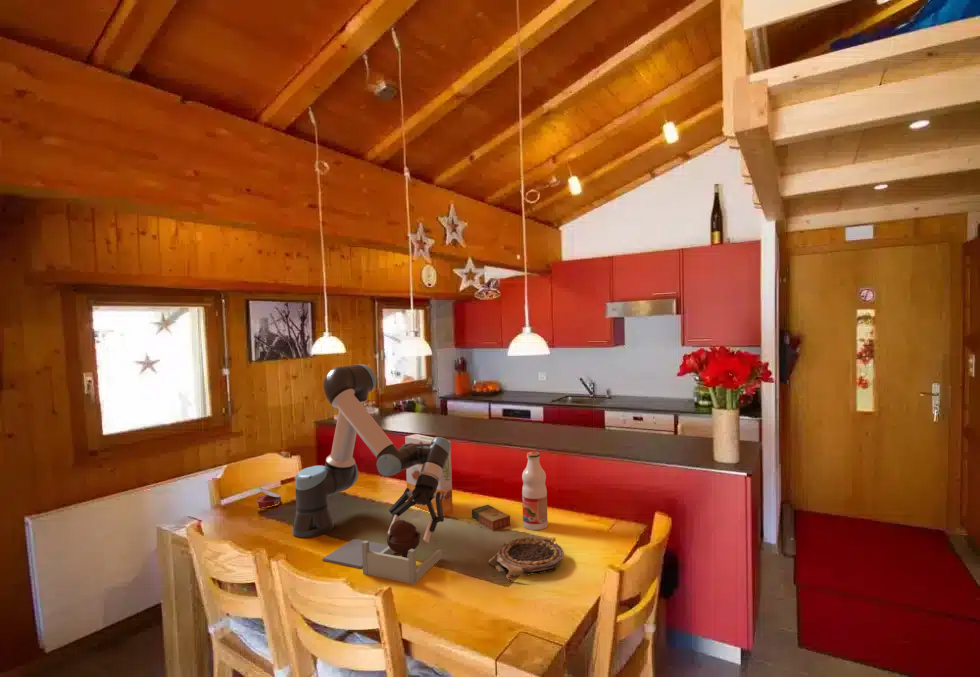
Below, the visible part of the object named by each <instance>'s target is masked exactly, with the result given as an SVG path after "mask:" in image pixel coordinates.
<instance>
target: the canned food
mask: <svg viewBox="0 0 980 677" xmlns="http://www.w3.org/2000/svg"><path fill="white" fill-rule="evenodd" d="M258 488H259V490H260V491H261V492H262V493H263V494H265V495H262V496H260V497H258V498H257V499H256V507H257V506H259V507H267V506H272V505H275V504H278V503H279V502H281V503H282V498H281V495H280V494H279V493H275V492H273V491H270V490H268V489H264V488H263V487H261V486H258Z"/></svg>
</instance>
